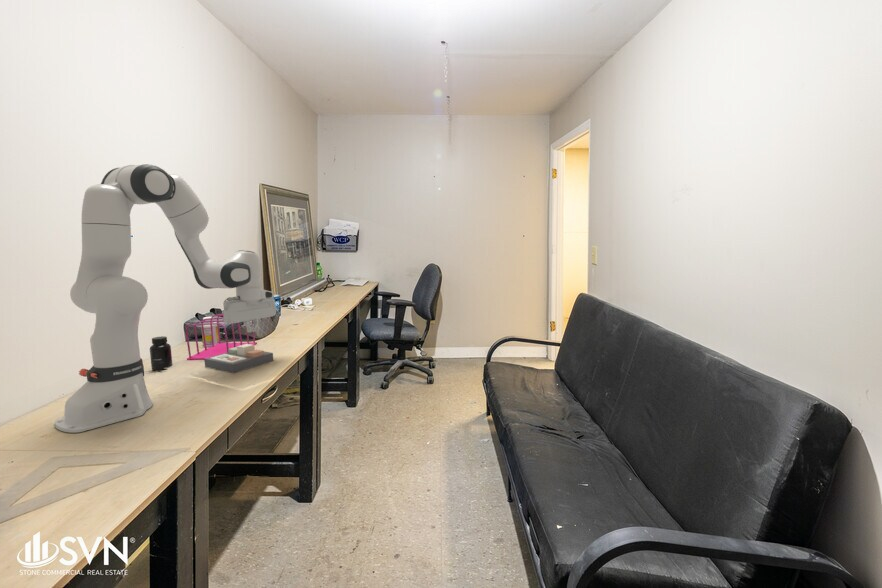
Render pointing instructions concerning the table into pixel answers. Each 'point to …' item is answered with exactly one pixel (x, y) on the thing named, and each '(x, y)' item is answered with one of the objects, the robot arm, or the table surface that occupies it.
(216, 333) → the supplement bottle
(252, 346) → the block
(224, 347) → the file sorter
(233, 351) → the key sage
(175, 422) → the table surface
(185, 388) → the table surface
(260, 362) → the keypad base
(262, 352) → the key terracotta
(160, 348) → the supplement bottle
